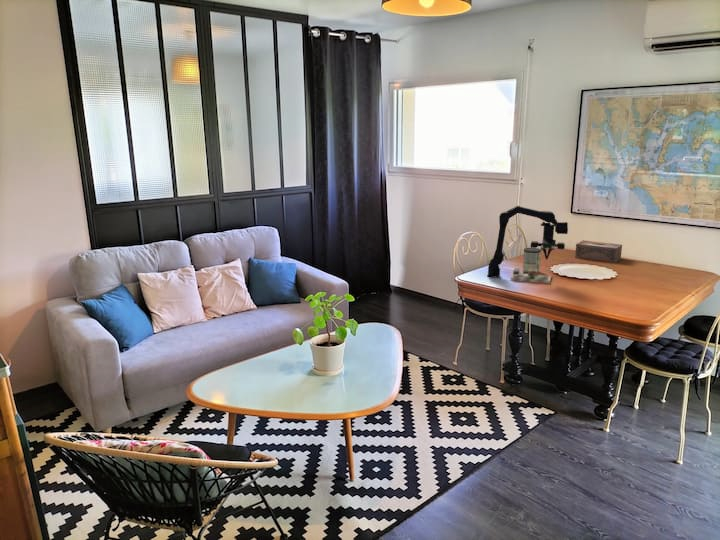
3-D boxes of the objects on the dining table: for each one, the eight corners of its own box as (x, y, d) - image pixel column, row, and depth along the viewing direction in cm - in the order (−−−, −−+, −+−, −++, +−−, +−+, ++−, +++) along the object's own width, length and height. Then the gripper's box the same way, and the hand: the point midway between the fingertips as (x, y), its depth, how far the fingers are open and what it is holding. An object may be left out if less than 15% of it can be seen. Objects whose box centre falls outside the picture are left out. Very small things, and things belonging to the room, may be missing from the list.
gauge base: (510, 280, 307) (511, 272, 306) (512, 275, 318) (513, 267, 317) (549, 283, 299) (550, 274, 298) (550, 277, 310) (551, 269, 309)
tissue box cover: (575, 257, 359) (576, 243, 356) (581, 254, 369) (583, 240, 367) (614, 263, 342) (616, 248, 340) (620, 258, 353) (622, 244, 350)
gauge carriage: (522, 278, 304) (522, 271, 303) (523, 274, 313) (523, 267, 312) (536, 279, 301) (536, 272, 300) (537, 275, 310) (537, 268, 309)
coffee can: (520, 269, 332) (522, 247, 328) (537, 269, 331) (538, 247, 327) (524, 273, 322) (525, 251, 318) (541, 273, 321) (542, 251, 317)
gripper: (530, 235, 298) (529, 261, 302) (565, 236, 291) (563, 263, 295) (532, 231, 308) (530, 257, 312) (565, 233, 301) (563, 259, 305)
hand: (546, 259), depth 305 cm, fingers closed
